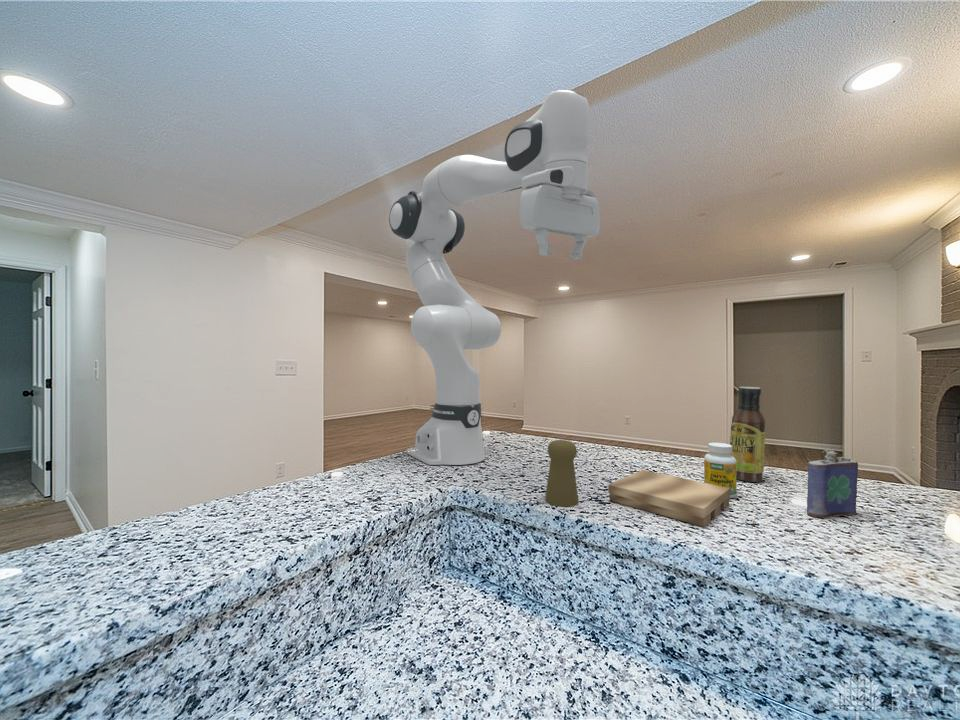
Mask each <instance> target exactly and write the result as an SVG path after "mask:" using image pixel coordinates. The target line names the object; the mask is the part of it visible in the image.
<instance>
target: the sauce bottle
mask: <svg viewBox="0 0 960 720" xmlns="http://www.w3.org/2000/svg"><path fill="white" fill-rule="evenodd" d="M761 391H762V388H761V387H758V386H738V390H737V393H738V395H739V396H738V404H737V405H738V408H737V409H736V410H735V412H734V414H733V415H732V418H731V423H730V438H729V445H732V454H731V456H733V457H734V458H735V459H736V467H737V469H736V480H740V481H743V482H749V483H760V482H762V480H763V475H764V472H765V471H764V470H765V469H764V468H765V467H764V466H765V446H766V445H765V444H766V420H765V417H764V415H763V413H761V411H760V407H761V406H760V401H761V400H760V396H761V394H762V392H761Z"/></svg>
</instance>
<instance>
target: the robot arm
mask: <svg viewBox="0 0 960 720" xmlns="http://www.w3.org/2000/svg"><path fill="white" fill-rule="evenodd" d="M590 113H591V112H590V105H589V101H588V98H587V97H585V96H584V95H583V94H581V93H580V92H578V91H575V90H573V89H572V90H570V89H567V88H566V89H561V88H560V89H556V90H553V91H550V92H549V93H548V94H547V95H546V97H545V99H544V101H543V103H542V105H541V107H539V108H538V110H537V111H536V112H535V113H534V114H532V115H531V116H530V117H529V118H528V119H527V120H525V121H523V122H520V123H518V124H517V125H515V126H513V128H512V129H511V130H510V131H509V133H508V135H507V137H506V139H505V142H504V149H503V150H504V151H503V153H504V161H500V160H495V159H491V158H487V157H482V156H479V155H474V154H461V155H456V156H453V157H451V158H449V159H446V160H444V161H443V162H441V163H440V164H439V165H437V166H435V167H434V168H433V169H432V170H431V171H429V172H428V174H427V175H426V176H425V177H424V179H423V181H422V189H421V191H420V192H419V193H418V192H417V191H415V190H411V191H409V192H408V193H407V195H403V196H401V197H400V198H399V199H397V200H396V201H395V202H393V204H392V206H391V208H390V211H389V216H388V217H389V219H388V220H389V227H390V229H391V230H390V231H391V232H392V233H393V235H396V236H397V237H398V238H401V239H404V240H409V241H412V242H414V244H412V245H411V246H409V248H408V250H407V252H406V254H405V263H406V268H407V272H408V275H409V279H410V281H411V282H412V285H413V287H414V289H415V291H416V292H417V295H418V297H419V299H420V301H421V303H422V305H423V306H420V307H419V308H418V309H417V310H416V311H415V312H414V314H413V316H412V318H411V321H410V331H411V334H412V337H413V339H414V341H415V342H416V343H417V345H419V346H420V347H421V348H422V349H423V350H424V351H425V352H426V354H427V356H428V357H429V359H430V362H431V364H432V366H433V371H434V375H435V390H436V391H435V394H436V397H435V398H436V401H435V402H436V403H434V404H433V405H429V407H431V408H429V409H430V411H432V412H431V413H432V414H431V418H429V420H428V421H427V422H425V423H424V424H423V425H422V426H421V427H420V428H419V429H418V430H417V431H416V434H415V440H414V441H415V444H414V445H415V446H411V447H409V448H406V451H405V453H406V452H407V453H406V454H407V455H409V456H411V457H413V458H415V459H417V460H419V461H421V462H422V463H425V464H426V465H429V466H430V465H431V466H439V465H449V466H450V465H451V466H453V465H454V466H459V465H461V466H462V465H464V466H465V465H471V464H472V465H473V464H476V463H479V462H483V461H484V460H485V459H486V458H487V457H486V448H485V447H484V440H483V439H484V438H483V429H482V423H481V417H482V403H480V374H479V372H478V370H477V369H476V368H475V367H474V366H472V365H471V364H470V363H469V362H468V360H467V358H466V355H465V350H482V349H486V348H490V347H492V346H494V345H496V343H497V342H498V341H499V340H500V337H501V332H502V327H501V326H502V325H501V321H500V319H499V317H498V315H497V314H495V313H494V312H493V311H490V310H488V309H487V308H485V307H484V306H482V305H481V304H480V303H479V302H478V301H476V299H474V298H473V297H472V296H471V295H470V294H469V293H468V292H467V291H466V290H465V289H464V288H463V287H462V286H461V285H460V283H459V281H458V280H457V278H456V277H455V275H454V274H453V272H452V270H451V268H450V266H449V265H448V263H447V261H446V259H445V258H444V254H449V253H451V252H452V251H453V249H454V248H455V247H457V246H458V244H459V243H460V242H461V240H462V238H463V237H464V235H465V230H466V229H465V228H466V227H465V220H464V217H463V215H461V214H460V213H459V212H458V211H456V210H455V209H453V208H454V207H459V206H462V205H465V204H468V203H469V204H470V203H471V202H475V201H476V200H477V201H478V200H480V199H484V198H487V197H491V196H494V195H498V194H502V193H505V192H512V191H516V190H521V189H523V190H522V192H521V194H520V200H519V201H520V202H519V217H518V218H519V223H520V226H521V227H522V229H526V230H531V231H534V237H535V239H536V242H537V245H538V249H539V250H538V255H539V256H550V255H551V254H552V251H551V250H552V245H549V242H548V238H547V236H549V234H550V233H551V234H557V235H565V236H570V237H574V239H573V240H574V242H575V245H574V247H573V249H571V250H570V259H574V260H578V259H580V260H581V259H582V257H583V250H584V247H585V246H586V244H587V241H588V239H589V238H590V239H591V238H595V237H598V235H599V233H600V231H601V217H600V216H601V215H600V214H601V213H600V204H599V202H598V199H597V197H596V195H595V194H594V192H593V191H592V190H588V180H589V179H588V177H589V161H588V149H589V148H588V147H589V145H590V140H591V139H590V137H591V114H590ZM416 449H418V450H416ZM411 450H415V451H411ZM408 451H411V452H408Z"/></svg>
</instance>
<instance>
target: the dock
mask: <svg viewBox="0 0 960 720" xmlns="http://www.w3.org/2000/svg"><path fill="white" fill-rule="evenodd" d="M607 487H608V488H607V489H608V494H609V501H610V500H612V501H611V502H614V501H615V502H614V503H617V502H618V504H621V505H625V506H629V507H632V508H636V509H639V510H642V511H645V512H649V513H653V514H656V515H661V516H664V517H668V518H671V519H674V520H678V521H681V522H682V521H683V522H685V523H688V524H692V525H696V526H699V527H702V526H703V528H705V527H706V526H708V525H709V524H710V523H711V521H712V518H713V519H715V518H717V517H718V516H719V515H720V514H721V510H723V511H724V510H726V509H727V508H729V506H730V498H729V497H730V488H727V487H722V486H717V485H712V484H707V483H704V481H703V482H702V481H697V480H692V479H687V478H684V477H680V476H673V475H668V474H663V473H660V472H655V471H649V470H645V469H641V470H639V471H638V470H637V471H636V472H633V473H631V474H630V475H626V476H625V477H623V478H620V479H619V480H616V481H613V482H612V483H610V484H608V486H607Z"/></svg>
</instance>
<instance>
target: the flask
mask: <svg viewBox="0 0 960 720" xmlns="http://www.w3.org/2000/svg"><path fill="white" fill-rule="evenodd" d="M824 452H826V454H825V455H824V459H820V460H812V461H811V460H810V461H808V462H807V499H806V506H807V507H806V514H807V515H808V516H811V517H813V518H815V519H816V518H822V519H828V518H834V517H833V516H839V517H840V516H844V515H845V516H852V515H853V516H855V515H854V514H856V515H857V495H858V476H859V474H858V471H859V463H858V461H856V460H853V459H851V458H848V457H844V456H839V457H837V455H838V452H835V450H831V449H824V450H822V453H824Z"/></svg>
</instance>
